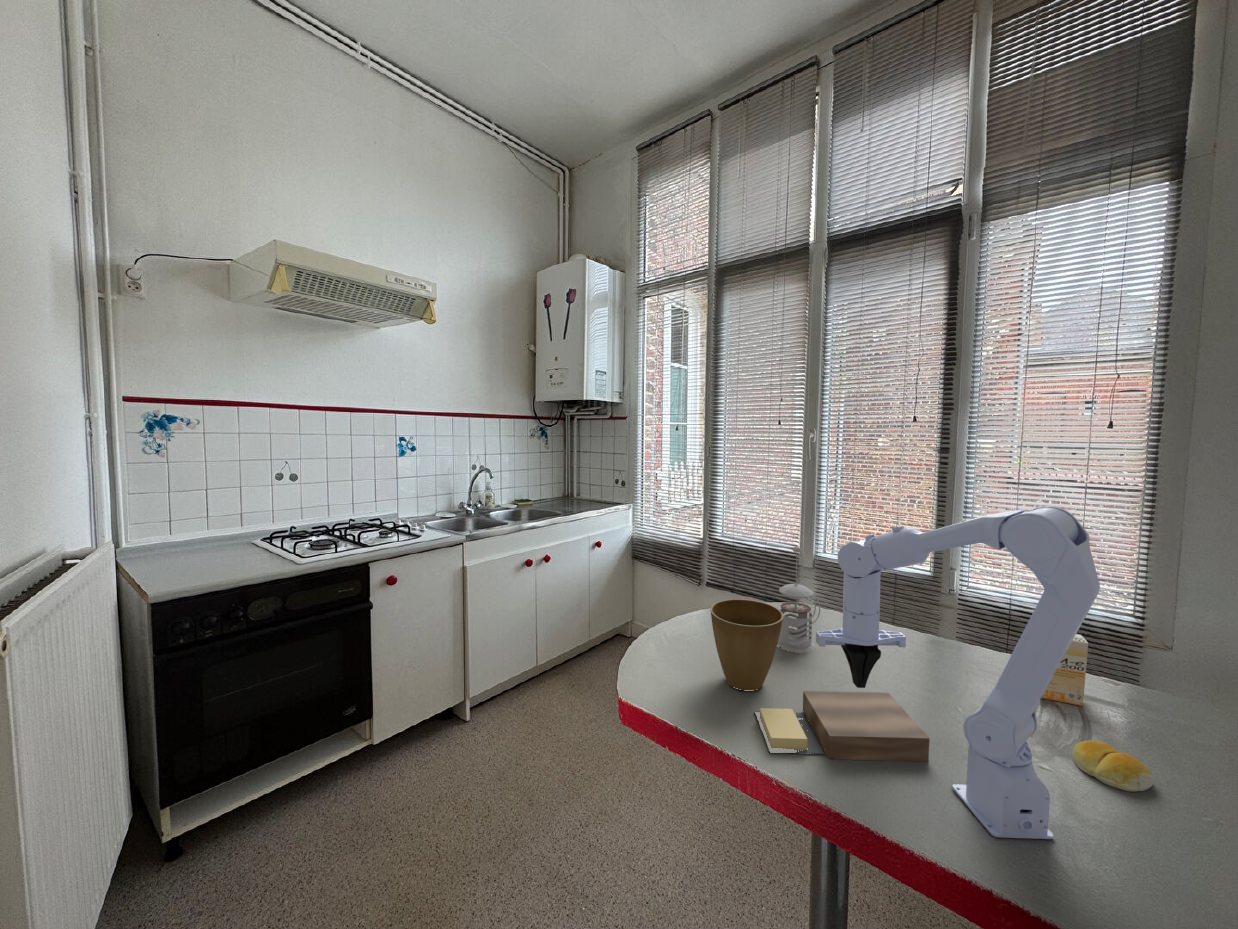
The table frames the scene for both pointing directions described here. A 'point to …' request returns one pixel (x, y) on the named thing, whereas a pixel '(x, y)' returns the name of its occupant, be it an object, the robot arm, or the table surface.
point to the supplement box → (1070, 675)
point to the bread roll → (1112, 766)
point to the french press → (791, 637)
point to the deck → (864, 726)
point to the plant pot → (746, 640)
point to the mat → (809, 737)
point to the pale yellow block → (783, 729)
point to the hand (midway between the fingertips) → (858, 685)
